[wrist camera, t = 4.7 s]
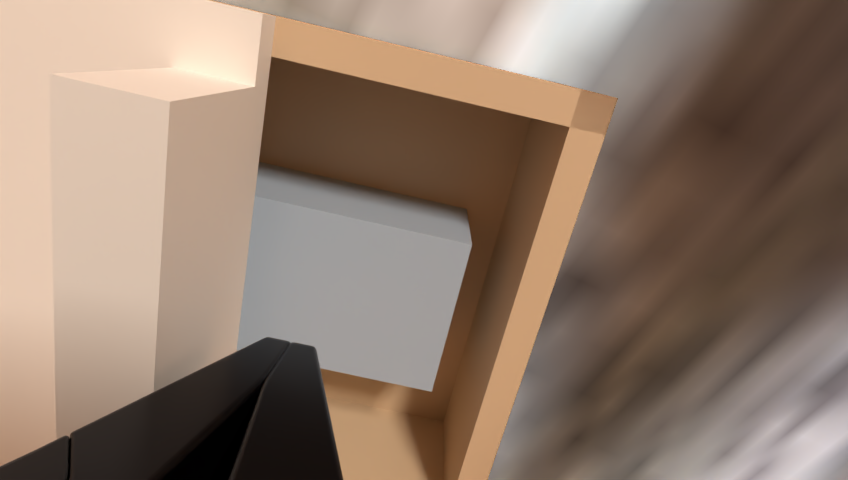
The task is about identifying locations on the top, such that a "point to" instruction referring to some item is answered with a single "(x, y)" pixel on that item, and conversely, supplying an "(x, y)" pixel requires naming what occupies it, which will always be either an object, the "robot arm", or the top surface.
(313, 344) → the soap bar
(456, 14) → the top surface
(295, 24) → the mailer box
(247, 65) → the lid
